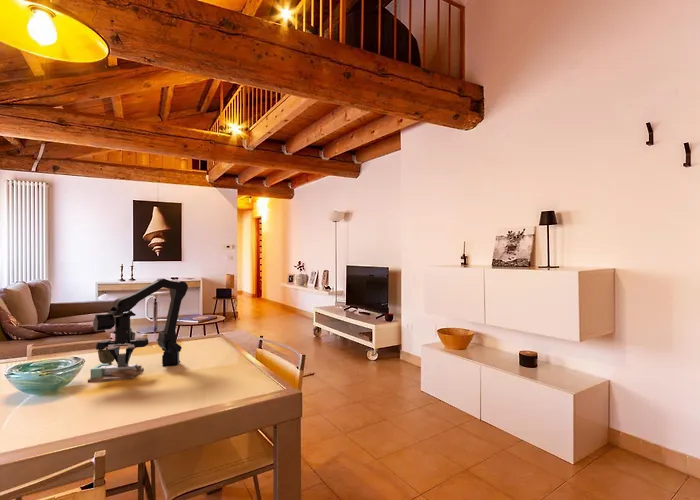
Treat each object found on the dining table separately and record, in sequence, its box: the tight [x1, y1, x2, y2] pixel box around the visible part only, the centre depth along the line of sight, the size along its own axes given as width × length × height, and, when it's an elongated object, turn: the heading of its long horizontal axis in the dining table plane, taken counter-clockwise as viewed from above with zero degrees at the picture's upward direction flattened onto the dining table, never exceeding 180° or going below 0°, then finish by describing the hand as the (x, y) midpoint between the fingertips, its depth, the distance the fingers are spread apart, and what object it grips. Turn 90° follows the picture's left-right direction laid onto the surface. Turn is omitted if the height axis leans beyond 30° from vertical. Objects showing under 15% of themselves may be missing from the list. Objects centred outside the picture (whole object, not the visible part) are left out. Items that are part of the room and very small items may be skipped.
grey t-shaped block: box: [100, 352, 138, 375], centre depth 160 cm, size 14×4×8 cm, turn 101°
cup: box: [97, 347, 116, 366], centre depth 175 cm, size 8×7×8 cm
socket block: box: [90, 363, 109, 378], centre depth 159 cm, size 4×8×4 cm, turn 11°
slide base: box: [87, 364, 145, 383], centre depth 160 cm, size 17×13×3 cm
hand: (122, 363), depth 160 cm, fingers closed on grey t-shaped block, 3 cm apart
